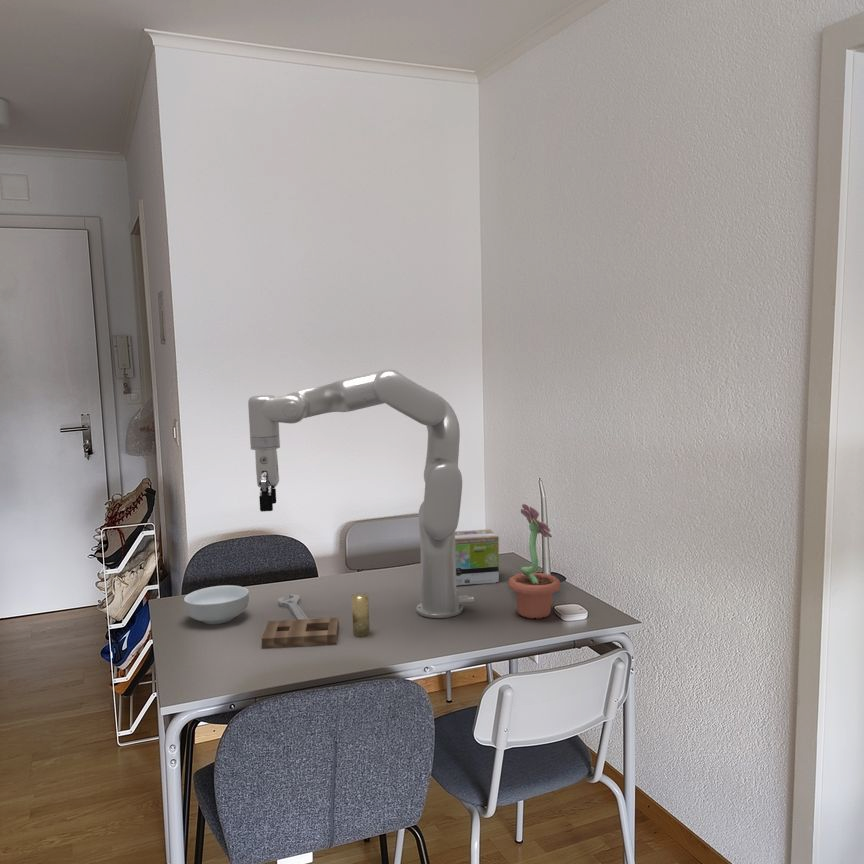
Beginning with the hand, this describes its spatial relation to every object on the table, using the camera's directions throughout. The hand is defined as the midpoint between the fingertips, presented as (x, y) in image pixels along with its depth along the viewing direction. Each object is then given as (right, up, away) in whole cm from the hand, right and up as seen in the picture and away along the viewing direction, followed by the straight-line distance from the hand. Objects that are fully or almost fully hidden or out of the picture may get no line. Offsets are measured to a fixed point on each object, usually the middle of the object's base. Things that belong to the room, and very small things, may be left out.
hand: (268, 507), depth 205 cm
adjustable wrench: (+5, -31, +9) cm, 32 cm away
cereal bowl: (-15, -31, +6) cm, 35 cm away
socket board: (+10, -32, -9) cm, 35 cm away
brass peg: (+25, -31, -8) cm, 41 cm away
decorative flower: (+71, -29, +2) cm, 76 cm away
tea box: (+55, -26, +34) cm, 70 cm away
